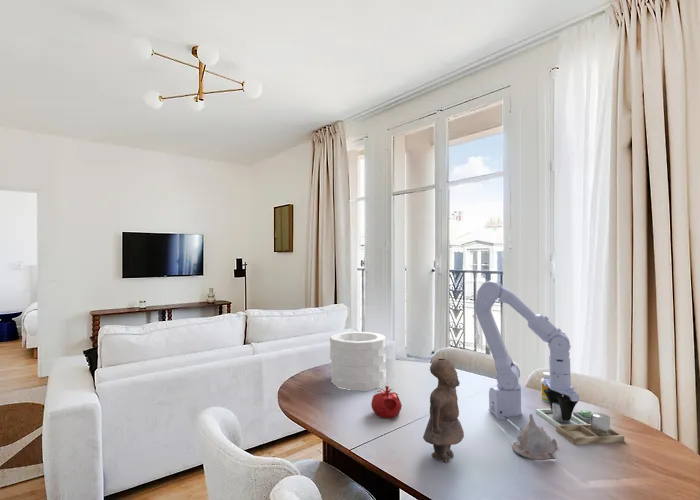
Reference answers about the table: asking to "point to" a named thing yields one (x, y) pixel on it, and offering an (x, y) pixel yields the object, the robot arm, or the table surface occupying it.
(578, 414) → the frame
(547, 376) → the supplement bottle
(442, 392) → the clay figurine
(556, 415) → the billet
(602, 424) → the cylinder
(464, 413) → the table surface
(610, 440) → the divided tray
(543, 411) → the pale green tray
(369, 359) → the basket
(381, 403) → the pomegranate
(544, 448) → the seashell
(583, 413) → the button
